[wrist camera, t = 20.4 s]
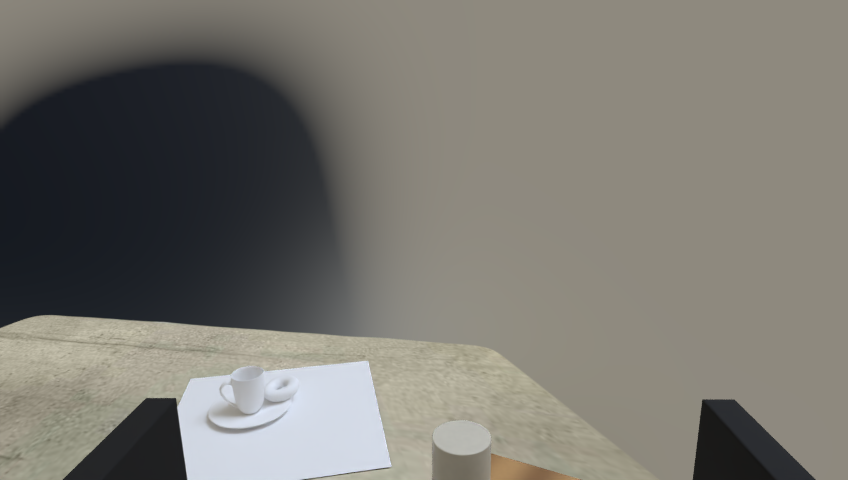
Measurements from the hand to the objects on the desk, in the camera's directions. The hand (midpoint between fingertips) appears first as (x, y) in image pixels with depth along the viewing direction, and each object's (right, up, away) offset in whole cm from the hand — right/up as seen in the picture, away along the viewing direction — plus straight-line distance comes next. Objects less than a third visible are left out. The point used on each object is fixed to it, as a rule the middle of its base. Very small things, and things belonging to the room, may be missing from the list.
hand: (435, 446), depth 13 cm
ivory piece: (+2, -15, +24) cm, 28 cm away
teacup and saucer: (-15, -12, +39) cm, 43 cm away
